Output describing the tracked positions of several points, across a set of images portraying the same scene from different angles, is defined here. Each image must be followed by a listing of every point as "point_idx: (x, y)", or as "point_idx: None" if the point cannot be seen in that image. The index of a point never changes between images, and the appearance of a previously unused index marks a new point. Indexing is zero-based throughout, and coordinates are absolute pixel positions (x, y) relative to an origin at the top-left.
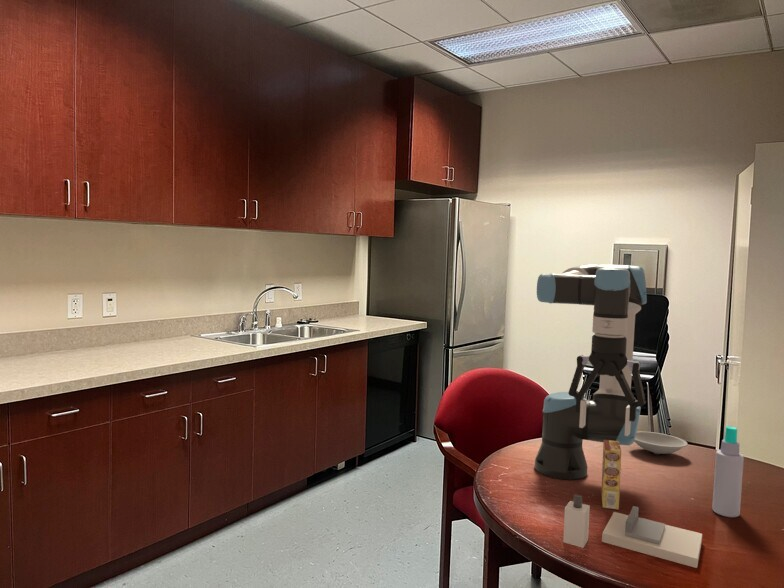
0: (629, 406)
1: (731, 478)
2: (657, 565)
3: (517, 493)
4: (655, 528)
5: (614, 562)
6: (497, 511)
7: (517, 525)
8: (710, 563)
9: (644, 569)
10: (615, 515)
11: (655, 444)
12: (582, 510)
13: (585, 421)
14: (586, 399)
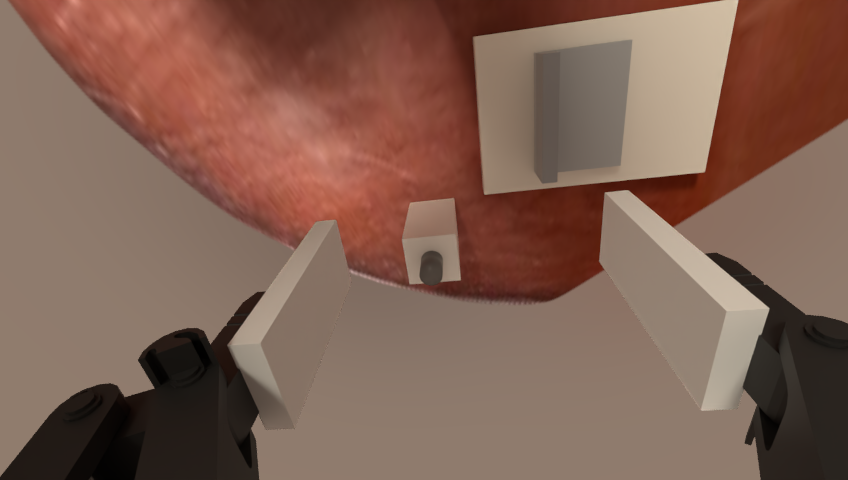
0: (739, 361)
1: None
2: None
3: (184, 63)
4: (606, 97)
5: (527, 251)
6: (234, 206)
7: None
8: (726, 119)
9: (584, 240)
10: (484, 62)
11: None
12: (451, 273)
13: (329, 233)
14: (264, 342)
